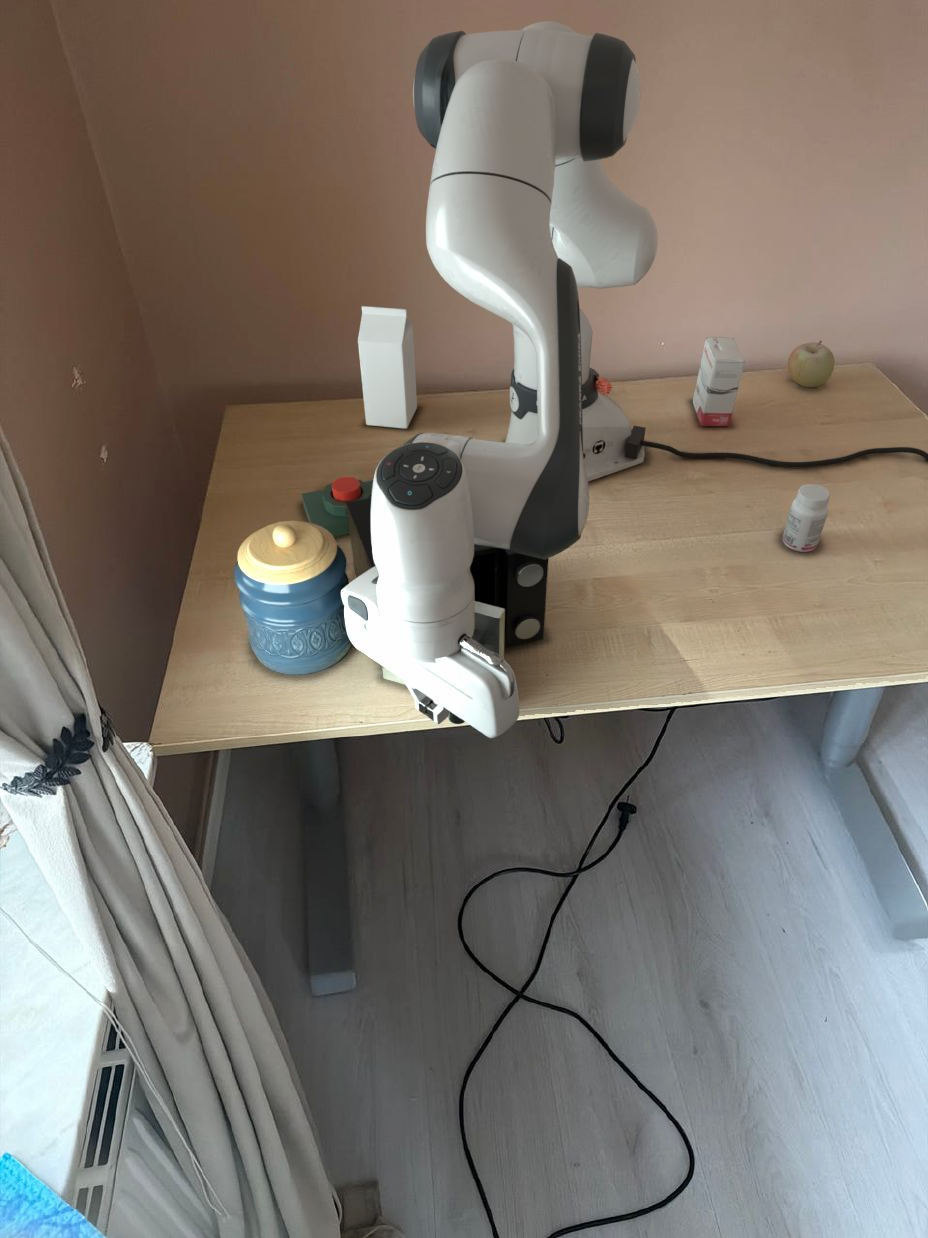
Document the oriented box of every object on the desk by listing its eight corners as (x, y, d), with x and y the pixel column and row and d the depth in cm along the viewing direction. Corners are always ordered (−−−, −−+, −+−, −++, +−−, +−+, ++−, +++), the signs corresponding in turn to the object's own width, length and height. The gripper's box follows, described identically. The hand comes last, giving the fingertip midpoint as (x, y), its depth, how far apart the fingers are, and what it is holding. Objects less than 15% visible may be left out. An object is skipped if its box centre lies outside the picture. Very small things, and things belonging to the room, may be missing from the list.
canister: (362, 668, 108) (347, 553, 96) (253, 685, 106) (224, 571, 94) (349, 598, 117) (334, 486, 105) (249, 613, 115) (222, 500, 103)
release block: (381, 490, 135) (379, 468, 133) (397, 524, 129) (395, 501, 126) (303, 505, 133) (299, 483, 130) (315, 541, 127) (311, 518, 124)
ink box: (731, 427, 147) (746, 360, 139) (700, 427, 148) (713, 360, 139) (721, 400, 154) (734, 335, 146) (691, 401, 154) (703, 335, 146)
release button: (357, 484, 130) (356, 474, 129) (363, 499, 128) (362, 489, 126) (330, 489, 130) (329, 479, 128) (336, 504, 127) (335, 494, 125)
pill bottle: (818, 535, 126) (834, 485, 120) (816, 555, 123) (832, 505, 117) (783, 529, 127) (797, 479, 121) (780, 549, 124) (795, 498, 118)
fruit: (826, 375, 160) (838, 332, 155) (829, 394, 155) (841, 351, 149) (782, 370, 161) (793, 328, 156) (783, 390, 156) (794, 347, 151)
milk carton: (407, 429, 148) (400, 319, 135) (365, 425, 149) (355, 315, 136) (417, 408, 153) (411, 299, 140) (377, 404, 154) (368, 296, 142)
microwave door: (479, 748, 99) (479, 654, 89) (361, 711, 103) (348, 617, 93) (502, 703, 103) (505, 608, 93) (389, 669, 108) (379, 575, 98)
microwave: (545, 644, 111) (552, 548, 100) (389, 682, 106) (379, 586, 96) (500, 564, 122) (502, 471, 112) (357, 596, 118) (345, 502, 108)
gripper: (537, 647, 79) (531, 747, 88) (375, 552, 89) (385, 651, 99) (490, 687, 76) (489, 786, 85) (328, 583, 86) (343, 683, 95)
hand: (432, 713), depth 92 cm, fingers closed
